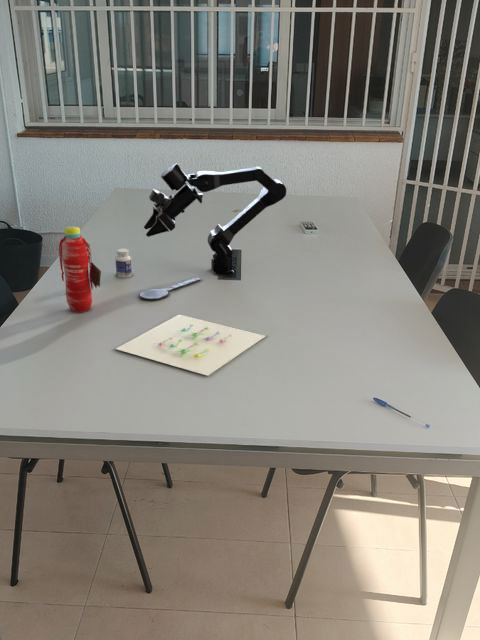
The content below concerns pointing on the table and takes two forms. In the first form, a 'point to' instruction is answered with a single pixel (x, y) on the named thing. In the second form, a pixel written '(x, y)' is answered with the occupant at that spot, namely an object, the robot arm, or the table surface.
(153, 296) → the spoon
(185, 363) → the printed paper
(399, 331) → the table surface
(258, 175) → the robot arm
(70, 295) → the water bottle
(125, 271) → the pill bottle
